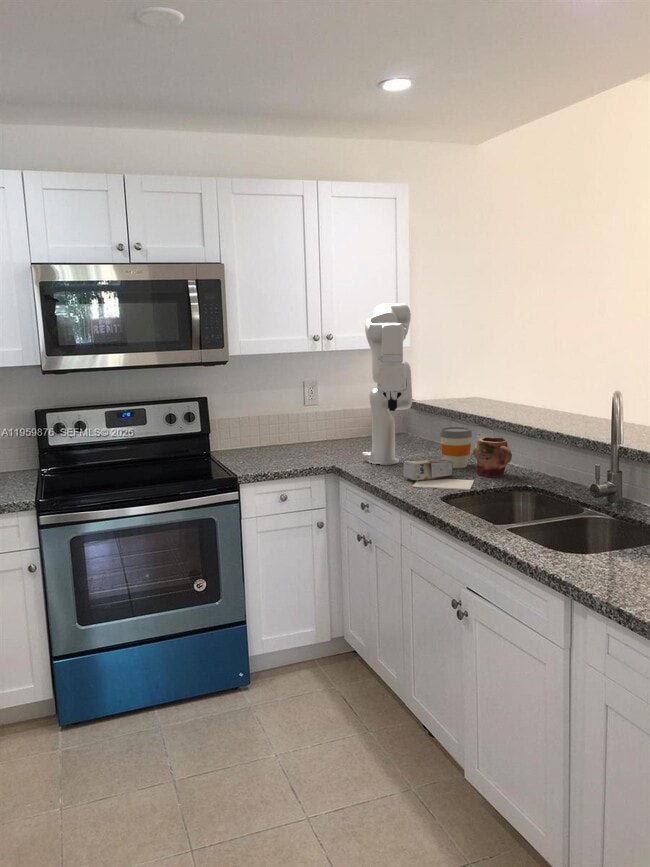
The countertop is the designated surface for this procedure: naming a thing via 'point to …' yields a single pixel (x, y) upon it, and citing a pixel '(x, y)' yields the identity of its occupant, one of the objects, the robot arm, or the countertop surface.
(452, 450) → the reusable coffee cup
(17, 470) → the countertop surface
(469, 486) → the mat
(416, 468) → the coffee box
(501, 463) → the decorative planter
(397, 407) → the robot arm
